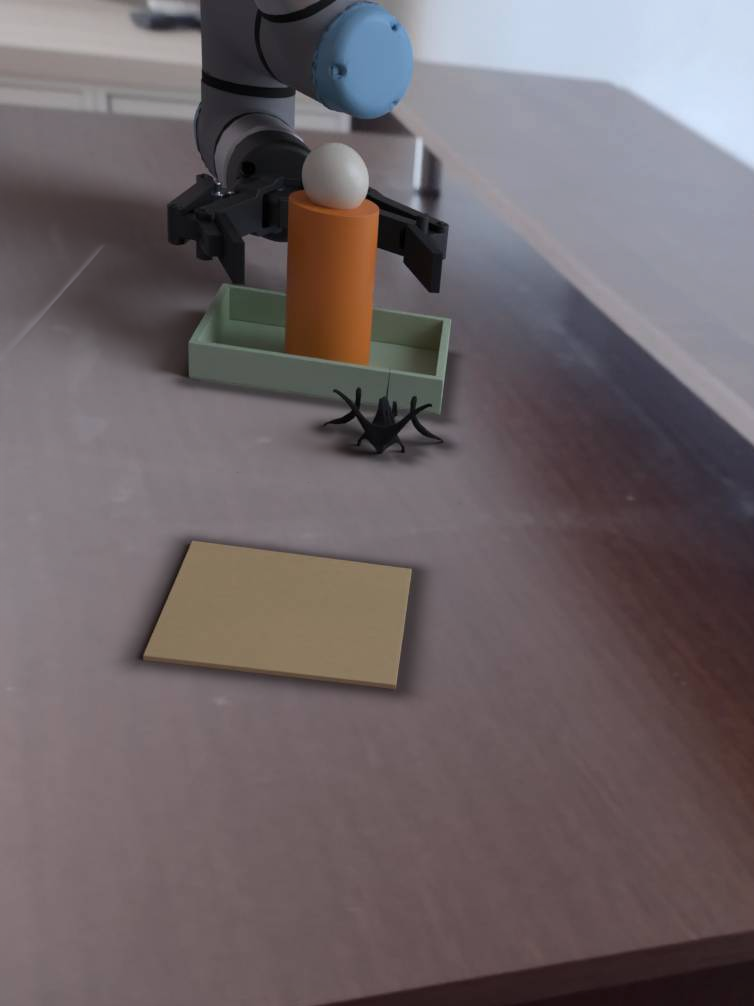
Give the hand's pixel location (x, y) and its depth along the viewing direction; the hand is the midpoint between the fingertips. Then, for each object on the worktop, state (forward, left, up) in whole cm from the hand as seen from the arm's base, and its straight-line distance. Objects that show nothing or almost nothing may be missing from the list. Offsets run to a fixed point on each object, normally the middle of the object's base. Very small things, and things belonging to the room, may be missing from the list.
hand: (340, 268), depth 90 cm
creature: (+4, -10, -8) cm, 14 cm away
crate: (-1, +2, -8) cm, 8 cm away
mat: (+1, -33, -8) cm, 34 cm away
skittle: (-1, +2, -7) cm, 8 cm away
